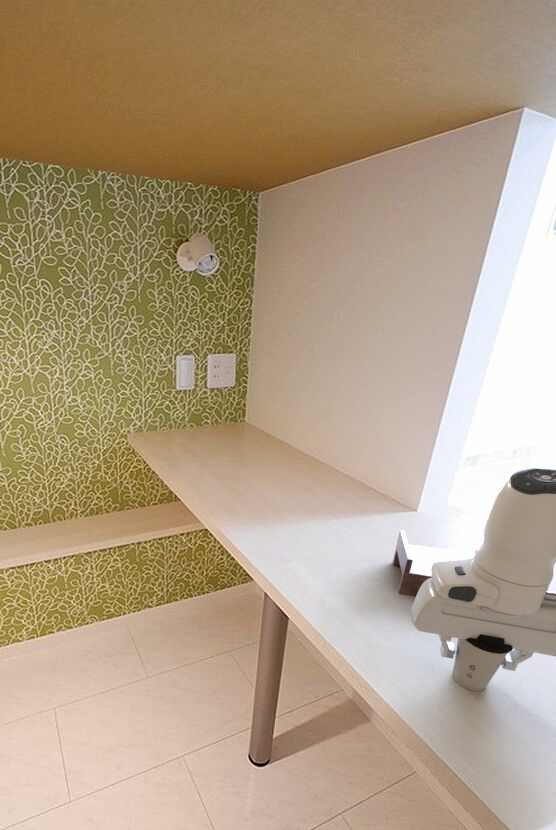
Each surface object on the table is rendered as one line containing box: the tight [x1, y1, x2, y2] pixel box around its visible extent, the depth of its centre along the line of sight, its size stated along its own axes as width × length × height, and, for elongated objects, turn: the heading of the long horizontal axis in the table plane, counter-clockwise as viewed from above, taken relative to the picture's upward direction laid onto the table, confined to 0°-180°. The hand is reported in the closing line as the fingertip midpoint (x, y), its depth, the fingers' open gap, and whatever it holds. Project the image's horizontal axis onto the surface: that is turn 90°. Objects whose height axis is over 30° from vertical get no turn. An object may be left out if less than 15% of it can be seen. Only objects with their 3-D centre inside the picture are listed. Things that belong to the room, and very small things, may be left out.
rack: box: [392, 530, 478, 597], centre depth 88 cm, size 16×12×8 cm
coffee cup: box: [452, 634, 514, 692], centre depth 65 cm, size 7×7×10 cm
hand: (475, 660), depth 65 cm, fingers closed on coffee cup, 7 cm apart
